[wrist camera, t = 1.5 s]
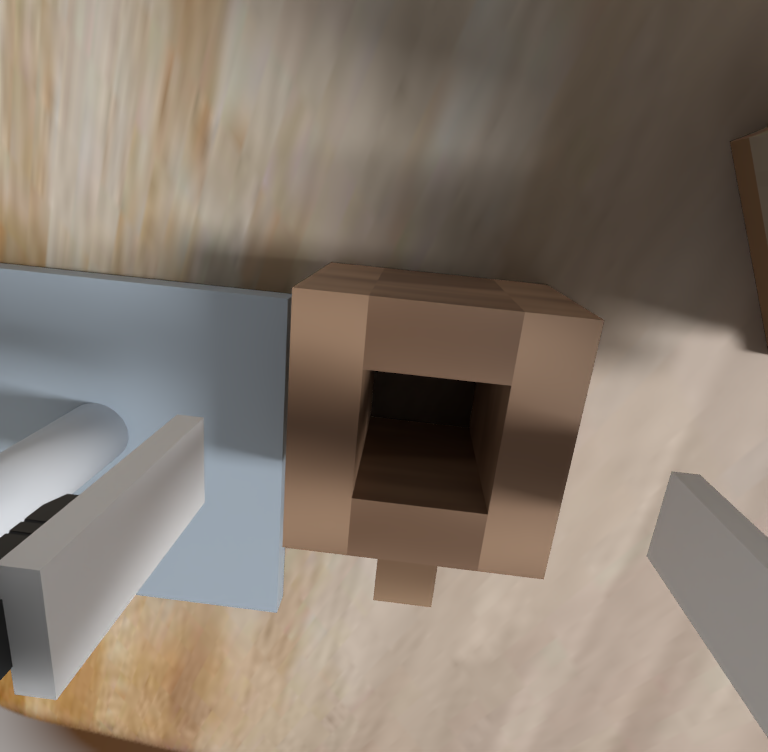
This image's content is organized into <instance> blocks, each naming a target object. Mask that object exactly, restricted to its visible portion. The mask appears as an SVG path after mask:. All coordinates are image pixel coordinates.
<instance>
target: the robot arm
mask: <svg viewBox="0 0 768 752" xmlns="http://www.w3.org/2000/svg"><path fill="white" fill-rule="evenodd" d="M204 503H205V489H204V417H195V416H187V415H178V414H177V415H176V416H175V417H174V418H172V419H171V420H170V421H169V422H167V423H166V424H165V425H164V426H163V427H161V428H160V429H159V430H158V431H156V432H155V433H154V434H153V435H152V436H150V437H149V438H148V439H147V440H146V441H144V442H143V443H142V444H141V445H139V446H138V447H137V448H136V449H135V450H133V451H132V452H131V453H130V454H128V455H127V456H126V457H125V458H124V459H122V460H121V461H120V462H119V463H118V464H116V465H115V466H114V467H113V468H111V469H110V470H109V471H108V472H107V473H105V474H104V475H103V476H102V477H100V478H99V479H98V480H97V481H96V482H94V483H93V484H92V485H91V486H89V487H88V488H87V489H86V490H85V491H83V492H82V493H81V494H80V495H74V494H66V495H63V496H61V497H59V498H57V499H54V500H52V501H50V502H48V503H45V504H43V505H42V506H40V507H39V508H38V509H37V510H35V511H34V512H33V513H31V514H30V515H29V516H27V517H26V518H25V520H24V522H20V523H18V524H17V525H16V526H14V527H13V528H12V529H11V530H9V533H8V534H7V533H5V534H4V535H3V536H1V537H0V680H1V679H2V678H3V677H4V676H5V675H6V673H7V672H8V671H9V670H10V669H11V673H12V680H13V686H14V692H15V694H17V695H24V696H31V697H39V698H46V699H53V700H57V699H58V697H59V696H60V695H61V693H62V692H63V691H64V689H65V688H66V687H67V685H68V684H69V683H70V681H71V680H72V679H73V677H74V676H75V675H76V673H77V672H78V671H79V669H80V668H81V667H82V665H83V664H84V663H85V661H86V660H87V659H88V657H89V656H90V655H91V653H92V652H93V651H94V649H95V648H96V647H97V645H98V644H99V643H100V641H101V640H102V639H103V637H104V636H105V635H106V633H107V632H108V631H109V629H110V628H111V627H112V625H113V624H114V623H115V621H116V620H117V619H118V617H119V616H120V615H121V613H122V612H123V611H124V609H125V608H126V607H127V605H128V604H129V603H130V601H131V600H132V599H133V597H134V596H135V595H136V593H137V592H138V591H139V589H140V588H141V587H142V585H143V584H144V583H145V581H146V580H147V579H148V577H149V576H150V575H151V573H152V572H153V571H154V569H155V568H156V567H157V565H158V564H159V563H160V561H161V560H162V559H163V557H164V556H165V555H166V553H167V552H168V551H169V549H170V548H171V547H172V545H173V544H174V543H175V541H176V540H177V539H178V537H179V536H180V535H181V533H182V532H183V531H184V529H185V528H186V527H187V525H188V524H189V523H190V521H191V520H192V519H193V517H194V516H195V515H196V513H197V512H198V511H199V509H200V508H201V507H202V505H203V504H204ZM647 557H648V559H649V560H650V562H651V563H652V565H653V566H654V568H655V569H656V571H657V572H658V574H659V575H660V577H661V578H662V580H663V581H664V583H665V584H666V586H667V587H668V589H669V590H670V592H671V593H672V595H673V596H674V598H675V599H676V601H677V602H678V604H679V605H680V607H681V608H682V610H683V611H684V613H685V614H686V616H687V617H688V619H689V620H690V622H691V623H692V625H693V626H694V628H695V629H696V631H697V632H698V634H699V635H700V637H701V638H702V640H703V641H704V643H705V644H706V646H707V647H708V649H709V650H710V652H711V653H712V655H713V656H714V658H715V659H716V661H717V662H718V664H719V665H720V667H721V668H722V670H723V671H724V673H725V674H726V676H727V677H728V679H729V680H730V682H731V683H732V685H733V686H734V688H735V689H736V691H737V692H738V694H739V695H740V697H741V698H742V700H743V701H744V703H745V704H746V706H747V707H748V709H749V710H750V712H751V713H752V715H753V716H754V718H755V719H756V721H757V723H758V724H759V726H760V727H761V729H762V730H763V732H764V733H765V735H766V736H767V738H768V537H766V536H765V535H764V534H763V533H762V532H761V531H760V530H759V529H758V528H757V527H756V526H755V525H753V524H752V523H751V522H750V521H749V520H748V519H747V518H746V517H745V516H744V515H743V514H742V513H741V512H739V511H738V510H737V509H736V508H735V507H734V506H733V505H732V504H731V503H730V502H729V501H728V500H727V499H725V498H724V497H723V496H722V495H721V494H720V493H719V492H718V491H717V490H716V489H715V488H714V487H713V486H711V485H710V484H709V483H708V482H707V481H706V480H705V479H704V478H703V477H702V476H701V475H698V474H689V473H681V472H671V475H670V479H669V482H668V485H667V489H666V492H665V496H664V499H663V502H662V506H661V509H660V513H659V516H658V519H657V523H656V526H655V530H654V533H653V536H652V540H651V543H650V547H649V550H648V553H647Z"/></svg>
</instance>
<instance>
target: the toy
mask: <svg viewBox="0 0 768 752" xmlns="http://www.w3.org/2000/svg"><path fill="white" fill-rule="evenodd" d="M730 144H731V150H732V155H733V161H734V166H735V172H736V177H737V183H738V188H739V194H740V199H741V204H742V210H743V215H744V221H745V226H746V232H747V237H748V243H749V248H750V254H751V259H752V265H753V270H754V276H755V281H756V287H757V292H758V298H759V303H760V308H761V314H762V319H763V325H764V330H765V336H766V341H767V347H768V127H766V128H764V129H761V130H759V131H756V132H753V133H751V134H748V135H746V136H743V137H741V138H738V139H735V140H733V141H730Z"/></svg>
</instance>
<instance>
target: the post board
mask: <svg viewBox="0 0 768 752" xmlns="http://www.w3.org/2000/svg"><path fill="white" fill-rule="evenodd" d="M291 304H292V294H288V293H279V292H269V291H260V290H251V289H241V288H232V287H222V286H213V285H203V284H194V283H185V282H175V281H166V280H156V279H147V278H137V277H128V276H119V275H109V274H100V273H90V272H81V271H71V270H62V269H53V268H43V267H34V266H24V265H15V264H5V263H0V537H1V536H3V535H4V534H5V533H7V534H8V533H9V530H11V529H12V528H13V527H14V526H16V525H17V524H18V523H20V522H24V520H25V518H26V517H27V516H29V515H30V514H31V513H33V512H34V511H35V510H37V509H38V508H39V507H40V506H42V505H43V504H45V503H48V502H50V501H52V500H54V499H57V498H59V497H61V496H63V495H66V494H74V495H80V494H81V493H82V492H83V491H85V490H86V489H87V488H88V487H89V486H91V485H92V484H93V483H94V482H96V481H97V480H98V479H99V478H100V477H102V476H103V475H104V474H105V473H107V472H108V471H109V470H110V469H111V468H113V467H114V466H115V465H116V464H118V463H119V462H120V461H121V460H122V459H124V458H125V457H126V456H127V455H128V454H130V453H131V452H132V451H133V450H135V449H136V448H137V447H138V446H139V445H141V444H142V443H143V442H144V441H146V440H147V439H148V438H149V437H150V436H152V435H153V434H154V433H155V432H156V431H158V430H159V429H160V428H161V427H163V426H164V425H165V424H166V423H167V422H169V421H170V420H171V419H172V418H174V417H175V416H176V415H177V414H178V415H187V416H195V417H204V489H205V503H204V504H203V505H202V507H201V508H200V509H199V511H198V512H197V513H196V515H195V516H194V517H193V519H192V520H191V521H190V523H189V524H188V525H187V527H186V528H185V529H184V531H183V532H182V533H181V535H180V536H179V537H178V539H177V540H176V541H175V543H174V544H173V545H172V547H171V548H170V549H169V551H168V552H167V553H166V555H165V556H164V557H163V559H162V560H161V561H160V563H159V564H158V565H157V567H156V568H155V569H154V571H153V572H152V573H151V575H150V576H149V577H148V579H147V580H146V581H145V583H144V584H143V585H142V587H141V588H140V589H139V591H138V592H137V593H136V595H142V596H150V597H158V598H165V599H173V600H181V601H189V602H197V603H205V604H213V605H220V606H228V607H236V608H244V609H252V610H260V611H268V612H275V613H277V611H278V608H279V605H280V602H281V600H282V597H283V580H284V554H285V547H282V545H283V518H284V491H285V464H286V438H287V411H288V384H289V357H290V330H291Z"/></svg>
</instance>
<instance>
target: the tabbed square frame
mask: <svg viewBox="0 0 768 752" xmlns="http://www.w3.org/2000/svg"><path fill="white" fill-rule="evenodd" d="M603 324H604V320H603V319H601V318H600V317H598V316H596V315H595V314H593V313H592V312H590V311H588V310H587V309H585V308H584V307H582V306H580V305H579V304H577V303H576V302H574V301H572V300H571V299H569V298H568V297H566V296H564V295H563V294H561V293H560V292H558V291H556V290H555V289H553V288H552V287H550V286H548V285H545V284H536V283H526V282H516V281H507V280H497V279H487V278H478V277H468V276H459V275H449V274H439V273H430V272H420V271H410V270H401V269H391V268H381V267H372V266H362V265H352V264H343V263H333V262H331V263H330V264H328V265H326V266H325V267H323V268H322V269H320V270H319V271H317V272H316V273H314V274H312V275H311V276H309V277H308V278H306V279H305V280H303V281H301V282H300V283H298V284H297V285H295V286H294V287H292V304H291V330H290V357H289V384H288V411H287V438H286V464H285V491H284V518H283V545H282V547H285V548H294V549H302V550H310V551H318V552H326V553H334V554H342V555H351V556H359V557H367V558H375V559H378V561H377V570H376V580H375V589H374V598H373V600H378V601H386V602H394V603H402V604H410V605H417V606H425V607H431V604H432V598H433V591H434V585H435V578H436V572H437V566H440V567H448V568H456V569H464V570H473V571H481V572H489V573H497V574H505V575H513V576H521V577H529V578H538V579H544V575H545V571H546V567H547V563H548V558H549V554H550V550H551V546H552V541H553V537H554V533H555V529H556V524H557V520H558V516H559V512H560V507H561V503H562V499H563V494H564V490H565V486H566V482H567V477H568V473H569V469H570V465H571V460H572V456H573V452H574V448H575V443H576V439H577V435H578V430H579V426H580V422H581V418H582V413H583V409H584V405H585V401H586V396H587V392H588V388H589V384H590V379H591V375H592V371H593V367H594V362H595V358H596V354H597V349H598V345H599V341H600V337H601V332H602V328H603ZM375 371H382V372H391V373H400V374H409V375H418V376H428V377H437V378H446V379H455V380H464V381H473V382H476V386H475V393H474V399H473V405H472V411H471V418H470V424H469V428H468V427H460V426H451V425H442V424H433V423H424V422H416V421H407V420H398V419H389V418H380V417H372V416H371V410H372V400H373V389H374V378H375Z"/></svg>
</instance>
